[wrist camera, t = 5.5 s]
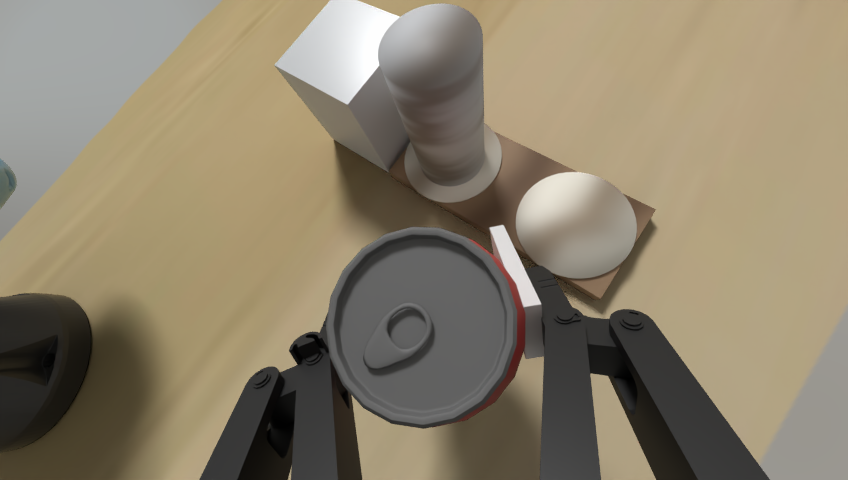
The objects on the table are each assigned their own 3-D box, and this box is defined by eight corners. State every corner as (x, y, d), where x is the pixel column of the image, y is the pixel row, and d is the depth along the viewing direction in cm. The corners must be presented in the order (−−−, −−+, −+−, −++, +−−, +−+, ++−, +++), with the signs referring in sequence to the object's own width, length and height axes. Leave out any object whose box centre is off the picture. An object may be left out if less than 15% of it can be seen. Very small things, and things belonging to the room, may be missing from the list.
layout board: (390, 179, 31) (324, 75, 19) (442, 111, 32) (412, -32, 20) (593, 303, 25) (705, 272, 12) (650, 212, 26) (807, 95, 13)
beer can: (383, 317, 21) (269, 305, 10) (456, 253, 21) (429, 169, 10) (447, 403, 19) (398, 513, 8) (527, 330, 19) (594, 334, 8)
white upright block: (333, 139, 34) (274, 65, 25) (377, 84, 35) (337, -8, 25) (389, 173, 31) (347, 104, 22) (435, 112, 32) (414, 22, 23)
